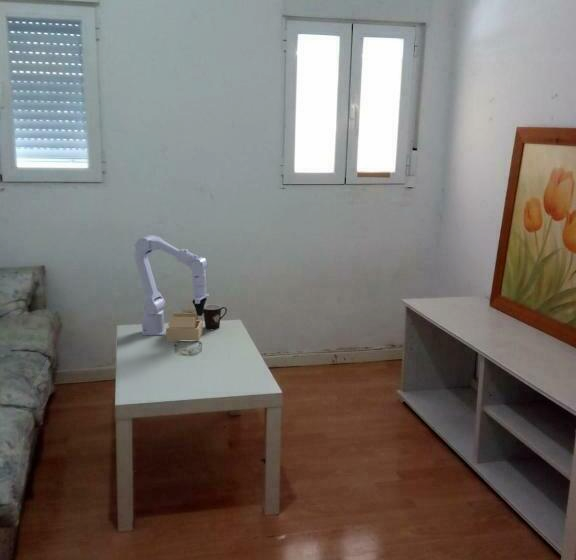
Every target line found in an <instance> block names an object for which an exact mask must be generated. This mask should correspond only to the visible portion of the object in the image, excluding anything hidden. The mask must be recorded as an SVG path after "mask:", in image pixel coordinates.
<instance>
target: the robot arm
mask: <svg viewBox="0 0 576 560" xmlns="http://www.w3.org/2000/svg"><path fill="white" fill-rule="evenodd" d="M134 247H135V249H134V260H135V262H136V267H137V269H138V274H139V277H140V280H141V284H142V287H143V290H144V293H145V295H144V297H143V303H144V305H143V310H144V313H143V314H142V316H141V327H142V335H145V336H163V335H164V334H166V328H167V327H165V315H164V309H166V307H167V303H166V300H165V299H164V297H163V296H162V293H161V292H159V291H158V289H157V284H156V281H155V277H154V275H153V271H152V267H151V264H150V261H149V256H150V255H151V253H152V252H153V251H158V250H160V251H162V252H163V253H166V254H169V255H171V256H173V257H175V259H176V261H177V262H179V263H181V264H183V265H185V266H187V267H189V269H190V271H191V272H192V273H191V275H192V277H191V278H192V298H193V299H192V301H191V302H192V304H193V306H194V308H195V311H196V312H195V313H197V316H198V317H202V316H203V315H204V314H203V311H204V306H205V305H206V302H207V300H208V298H209V296H210V294H209V293H207V279H206V278H207V274H206V272H207V271H206V270H207V269H206V268H208V264H209V263H208V260H207V259H206V258H205V257H204V256H203V255H202V256H201V255H200V256H198V255H197V254H194V253H192V252H190V251H189V249H188V248H182V249H179V248H177V247H175V246H173V245H172V244H170V243H168V242H166V241H165V240H164V239H162V238H161V237H160V236H157V235H155V234H149V235H146V236H144V237H140V238H138V239H137V241H136V242H135V244H134Z"/></svg>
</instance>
